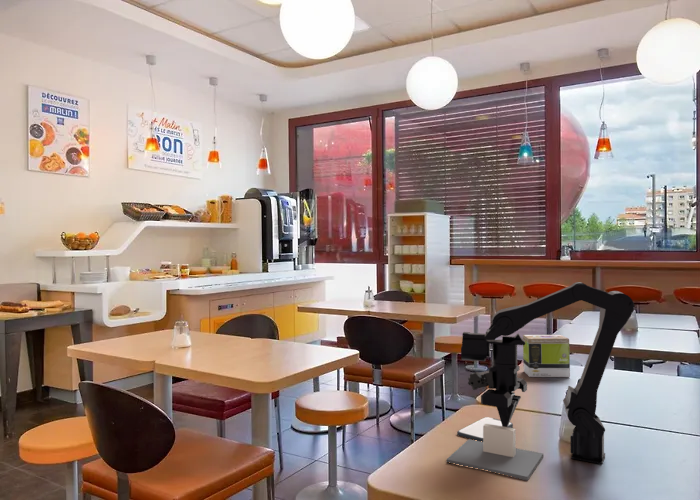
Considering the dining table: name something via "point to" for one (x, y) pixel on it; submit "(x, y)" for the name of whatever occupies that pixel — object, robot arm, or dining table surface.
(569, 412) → the robot arm
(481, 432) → the phone case
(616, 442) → the dining table surface
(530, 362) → the tea box
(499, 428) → the block
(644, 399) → the dining table surface
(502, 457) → the mat
